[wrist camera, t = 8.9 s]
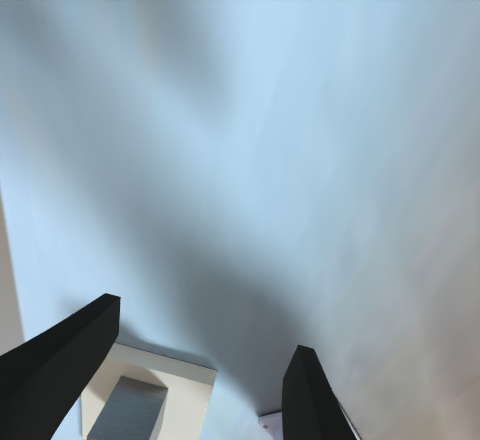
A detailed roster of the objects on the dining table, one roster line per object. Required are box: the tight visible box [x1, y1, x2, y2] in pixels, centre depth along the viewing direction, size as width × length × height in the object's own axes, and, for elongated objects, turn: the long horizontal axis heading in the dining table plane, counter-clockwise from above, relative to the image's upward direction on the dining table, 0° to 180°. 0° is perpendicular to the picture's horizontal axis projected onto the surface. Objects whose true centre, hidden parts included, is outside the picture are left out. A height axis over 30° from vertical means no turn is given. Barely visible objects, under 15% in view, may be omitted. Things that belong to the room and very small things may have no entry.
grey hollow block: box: [87, 375, 169, 440], centre depth 24 cm, size 6×4×5 cm
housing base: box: [81, 343, 217, 440], centre depth 27 cm, size 18×12×5 cm, turn 167°
